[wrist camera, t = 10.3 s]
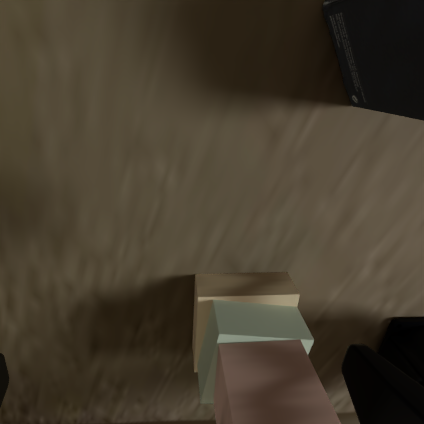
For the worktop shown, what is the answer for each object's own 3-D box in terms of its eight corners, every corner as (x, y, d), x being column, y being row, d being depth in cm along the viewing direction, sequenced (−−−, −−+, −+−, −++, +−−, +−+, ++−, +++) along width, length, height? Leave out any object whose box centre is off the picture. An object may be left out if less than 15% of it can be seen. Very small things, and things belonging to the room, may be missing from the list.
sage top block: (296, 306, 22) (314, 340, 19) (273, 367, 24) (286, 405, 21) (213, 299, 21) (219, 334, 18) (197, 364, 23) (200, 403, 20)
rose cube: (300, 339, 19) (341, 424, 14) (287, 394, 21) (319, 484, 16) (218, 344, 18) (234, 435, 14) (213, 400, 20) (226, 495, 16)
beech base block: (285, 269, 24) (299, 294, 21) (273, 337, 27) (284, 367, 24) (195, 270, 23) (197, 297, 21) (192, 341, 26) (194, 372, 23)
